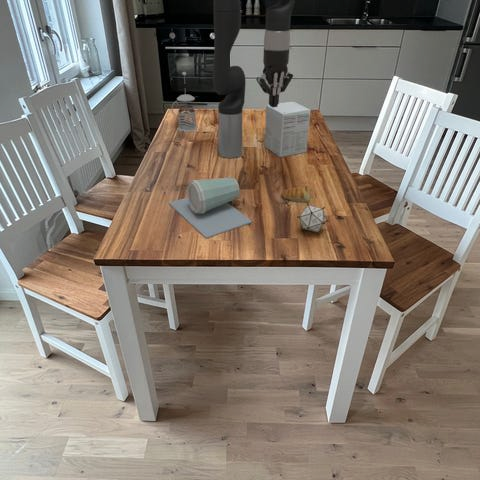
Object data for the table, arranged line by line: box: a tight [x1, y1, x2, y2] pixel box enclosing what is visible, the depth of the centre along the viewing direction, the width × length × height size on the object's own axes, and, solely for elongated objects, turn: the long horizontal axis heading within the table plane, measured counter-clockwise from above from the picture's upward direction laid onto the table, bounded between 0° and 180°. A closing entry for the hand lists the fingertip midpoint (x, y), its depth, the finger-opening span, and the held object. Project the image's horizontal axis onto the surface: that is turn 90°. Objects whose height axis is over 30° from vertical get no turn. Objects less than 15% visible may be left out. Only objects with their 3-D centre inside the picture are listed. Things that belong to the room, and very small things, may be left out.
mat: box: [168, 196, 253, 239], centre depth 129 cm, size 24×16×1 cm, turn 34°
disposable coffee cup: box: [186, 177, 241, 214], centre depth 128 cm, size 11×11×15 cm
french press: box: [171, 71, 199, 133], centre depth 186 cm, size 10×12×25 cm
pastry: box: [281, 186, 311, 203], centre depth 137 cm, size 9×7×4 cm
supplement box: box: [264, 101, 312, 158], centre depth 168 cm, size 13×13×18 cm
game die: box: [296, 202, 330, 236], centre depth 119 cm, size 9×8×10 cm
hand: (273, 106), depth 131 cm, fingers closed
